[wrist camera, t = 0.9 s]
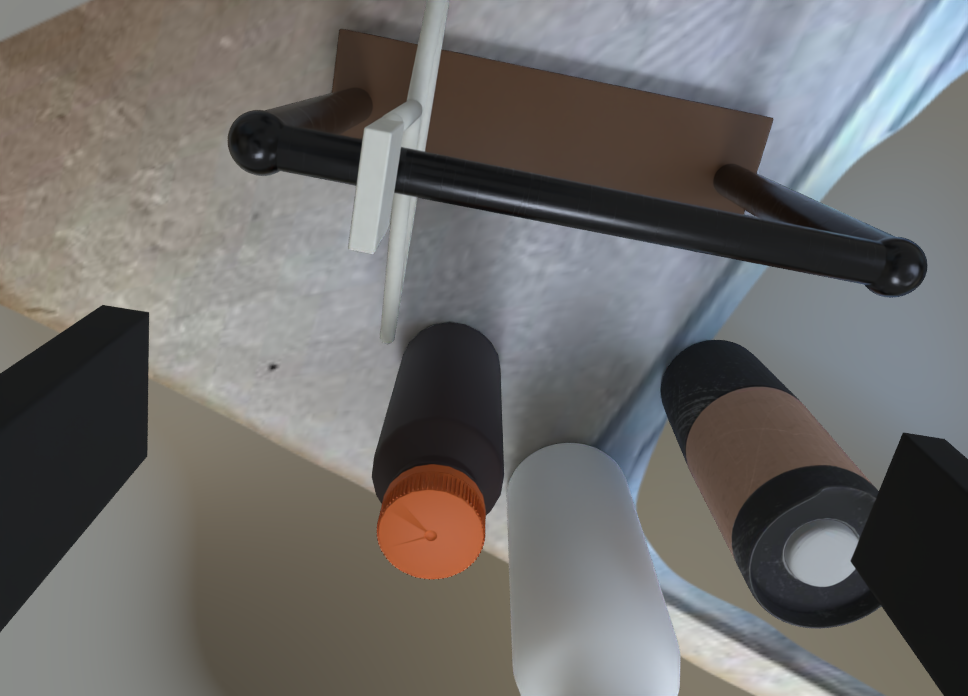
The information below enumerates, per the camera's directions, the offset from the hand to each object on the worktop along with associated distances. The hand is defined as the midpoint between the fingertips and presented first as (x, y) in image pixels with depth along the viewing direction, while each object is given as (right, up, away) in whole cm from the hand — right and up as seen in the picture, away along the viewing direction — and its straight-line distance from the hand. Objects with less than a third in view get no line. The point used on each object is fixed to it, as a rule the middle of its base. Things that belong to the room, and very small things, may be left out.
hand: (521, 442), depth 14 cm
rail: (+3, +15, +35) cm, 38 cm away
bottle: (-3, 0, +40) cm, 40 cm away
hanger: (-4, +13, +26) cm, 29 cm away
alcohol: (+5, -9, +44) cm, 45 cm away
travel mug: (+15, -1, +41) cm, 43 cm away
